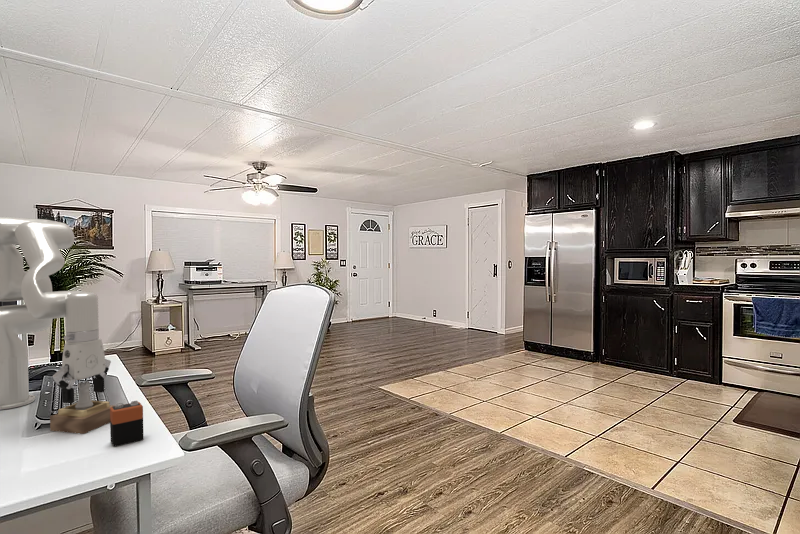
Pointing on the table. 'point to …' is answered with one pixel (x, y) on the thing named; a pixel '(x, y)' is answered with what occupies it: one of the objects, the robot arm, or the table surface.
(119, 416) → the battery
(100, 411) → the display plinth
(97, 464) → the table surface
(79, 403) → the rook chess piece
